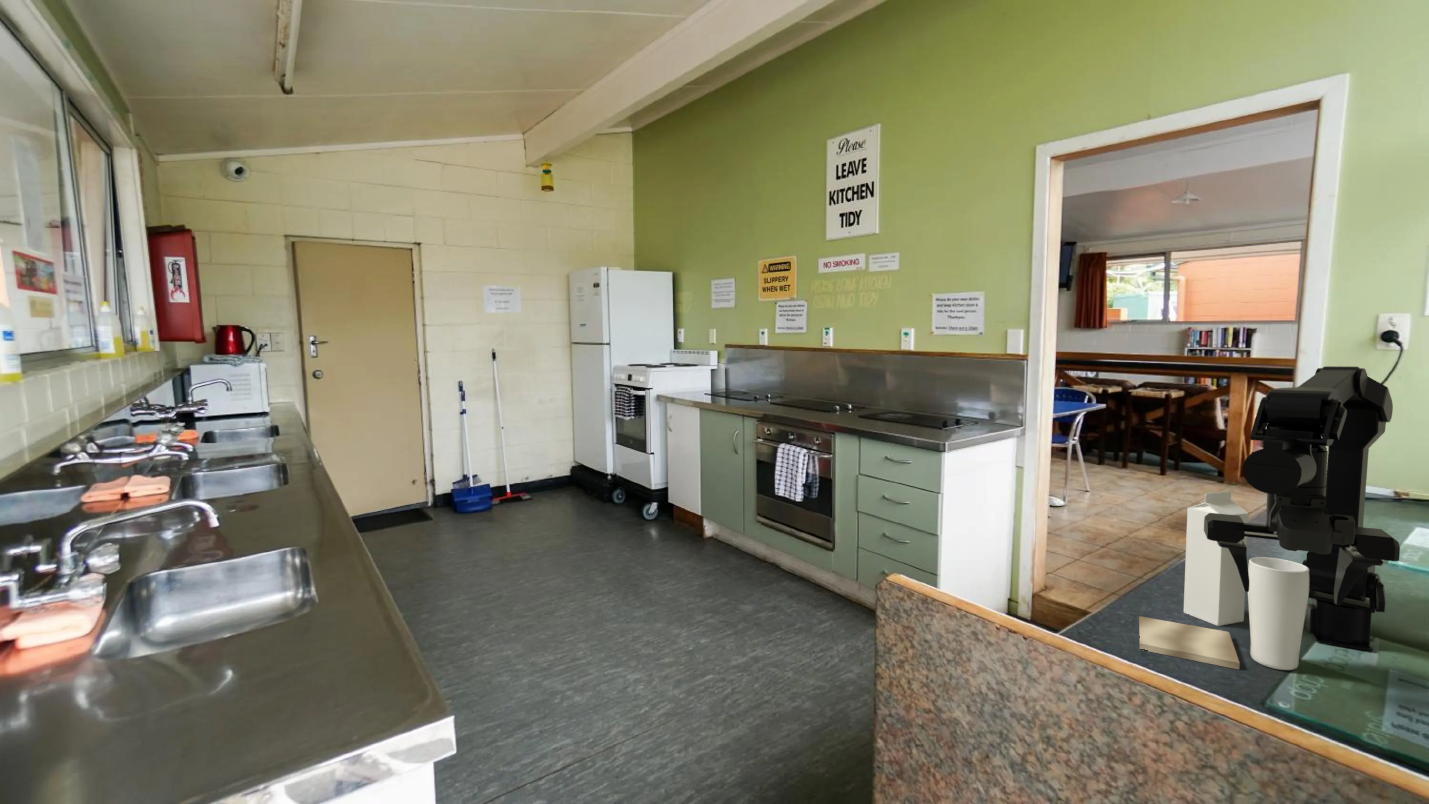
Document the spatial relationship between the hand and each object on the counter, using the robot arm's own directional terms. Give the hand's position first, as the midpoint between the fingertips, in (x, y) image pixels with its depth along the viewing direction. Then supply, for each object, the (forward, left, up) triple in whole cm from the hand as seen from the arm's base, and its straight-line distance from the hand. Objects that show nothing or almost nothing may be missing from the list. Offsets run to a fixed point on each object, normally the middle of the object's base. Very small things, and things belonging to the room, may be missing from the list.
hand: (1290, 597), depth 85 cm
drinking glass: (0, -9, -13) cm, 16 cm away
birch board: (+11, -10, -13) cm, 19 cm away
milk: (+6, -24, -13) cm, 28 cm away
